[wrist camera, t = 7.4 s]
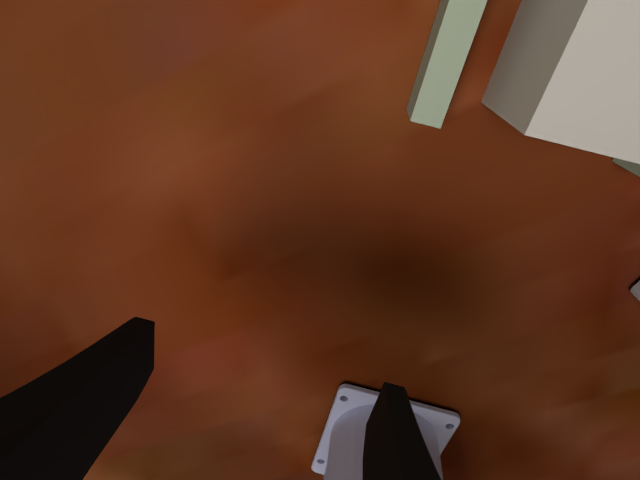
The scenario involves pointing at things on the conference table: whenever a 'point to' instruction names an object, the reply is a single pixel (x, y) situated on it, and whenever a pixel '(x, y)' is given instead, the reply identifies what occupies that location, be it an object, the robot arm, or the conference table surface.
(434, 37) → the pale green slab
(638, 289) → the string lights box
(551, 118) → the stepped cream block
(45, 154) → the conference table surface
